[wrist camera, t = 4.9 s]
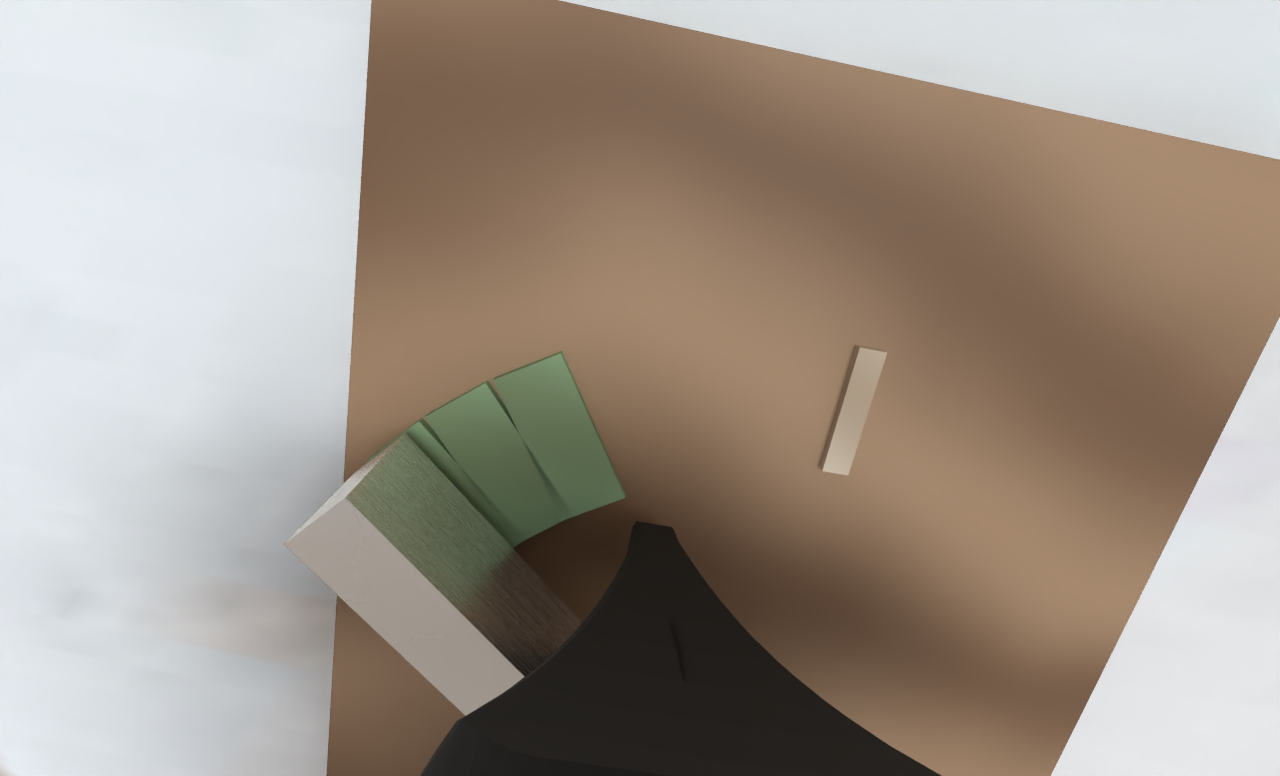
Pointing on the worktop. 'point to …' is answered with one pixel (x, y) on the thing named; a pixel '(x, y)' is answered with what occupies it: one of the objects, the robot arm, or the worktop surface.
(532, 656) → the silver lever on base
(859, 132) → the dial board
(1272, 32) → the worktop surface
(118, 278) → the worktop surface
